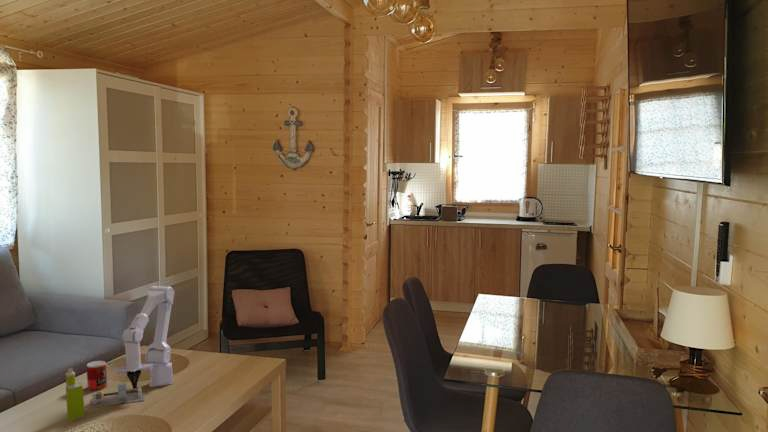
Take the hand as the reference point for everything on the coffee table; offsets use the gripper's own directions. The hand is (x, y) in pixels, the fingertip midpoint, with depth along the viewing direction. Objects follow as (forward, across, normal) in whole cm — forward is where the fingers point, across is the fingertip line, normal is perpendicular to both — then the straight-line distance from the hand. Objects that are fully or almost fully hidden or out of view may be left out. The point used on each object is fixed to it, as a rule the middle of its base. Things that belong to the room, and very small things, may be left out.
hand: (135, 387), depth 245 cm
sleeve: (+3, -5, 0) cm, 6 cm away
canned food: (+5, -17, +19) cm, 26 cm away
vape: (+4, -21, -12) cm, 24 cm away
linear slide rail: (+4, -7, 0) cm, 8 cm away
